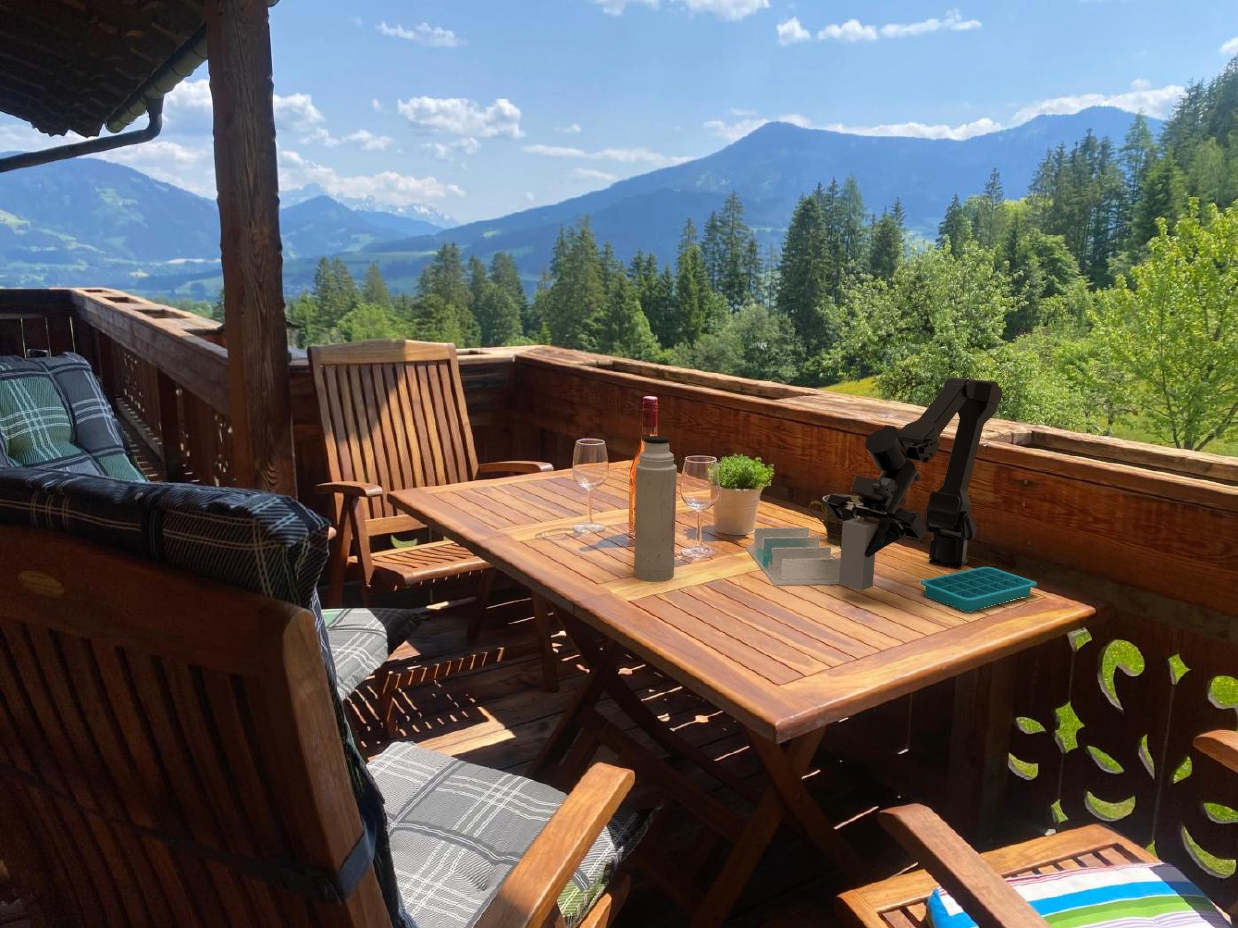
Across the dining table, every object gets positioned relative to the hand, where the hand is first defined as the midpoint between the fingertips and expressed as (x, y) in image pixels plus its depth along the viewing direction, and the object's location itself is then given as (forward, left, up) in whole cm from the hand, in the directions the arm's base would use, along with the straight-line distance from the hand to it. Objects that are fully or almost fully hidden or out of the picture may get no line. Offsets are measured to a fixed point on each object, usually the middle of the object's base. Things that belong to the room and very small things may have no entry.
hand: (853, 552), depth 157 cm
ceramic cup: (+17, -34, -9) cm, 39 cm away
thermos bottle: (+37, +11, -9) cm, 39 cm away
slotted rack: (+17, -12, -9) cm, 23 cm away
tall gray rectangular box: (0, -1, -7) cm, 7 cm away
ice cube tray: (-18, -17, -10) cm, 27 cm away
